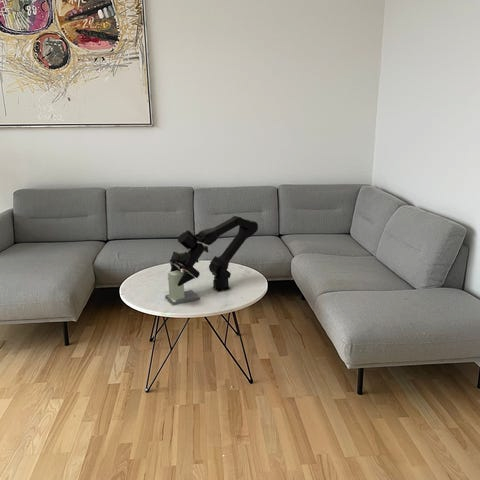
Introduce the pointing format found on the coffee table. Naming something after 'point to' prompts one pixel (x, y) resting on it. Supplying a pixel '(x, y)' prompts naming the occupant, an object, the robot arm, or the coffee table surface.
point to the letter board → (188, 297)
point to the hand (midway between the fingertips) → (173, 282)
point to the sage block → (175, 285)
